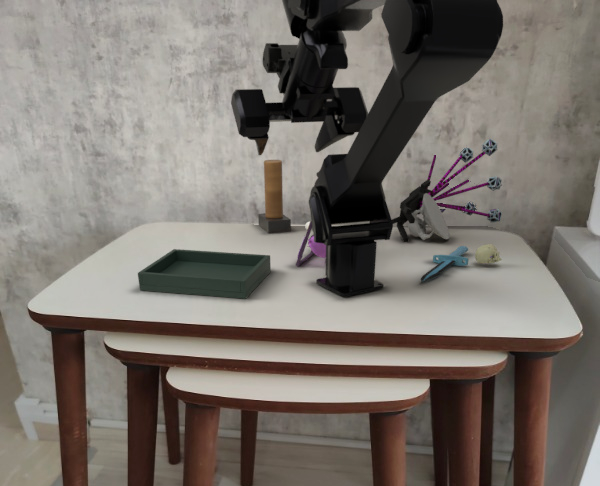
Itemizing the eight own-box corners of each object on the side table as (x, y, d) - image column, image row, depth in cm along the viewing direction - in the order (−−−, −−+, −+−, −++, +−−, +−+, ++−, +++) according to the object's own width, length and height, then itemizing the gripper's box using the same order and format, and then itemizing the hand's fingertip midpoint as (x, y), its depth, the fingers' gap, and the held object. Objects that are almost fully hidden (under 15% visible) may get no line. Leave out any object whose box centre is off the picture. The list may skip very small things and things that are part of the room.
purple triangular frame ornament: (327, 206, 89) (305, 219, 82) (358, 220, 88) (339, 235, 81) (312, 247, 93) (290, 263, 86) (342, 261, 92) (323, 279, 85)
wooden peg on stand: (290, 231, 103) (290, 162, 98) (268, 233, 102) (266, 164, 97) (280, 223, 108) (278, 157, 103) (258, 225, 107) (256, 159, 101)
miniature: (431, 191, 99) (405, 206, 102) (419, 195, 93) (392, 211, 95) (452, 235, 100) (427, 249, 103) (443, 242, 94) (416, 257, 96)
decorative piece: (347, 270, 103) (448, 211, 118) (413, 281, 94) (514, 215, 109) (332, 184, 96) (442, 133, 111) (402, 186, 86) (512, 130, 101)
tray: (270, 271, 84) (270, 255, 83) (246, 299, 74) (245, 280, 73) (175, 264, 87) (173, 248, 85) (139, 290, 77) (137, 272, 76)
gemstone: (469, 260, 87) (472, 240, 86) (497, 261, 87) (501, 240, 85) (472, 267, 84) (475, 246, 83) (502, 267, 84) (505, 246, 83)
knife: (403, 284, 79) (439, 289, 77) (403, 275, 79) (440, 279, 76) (448, 251, 92) (481, 254, 89) (448, 243, 91) (481, 246, 89)
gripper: (364, 20, 82) (331, 105, 97) (229, 18, 77) (216, 108, 91) (386, 87, 79) (349, 165, 94) (249, 90, 74) (232, 172, 89)
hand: (288, 151), depth 92 cm, fingers open, 9 cm apart
